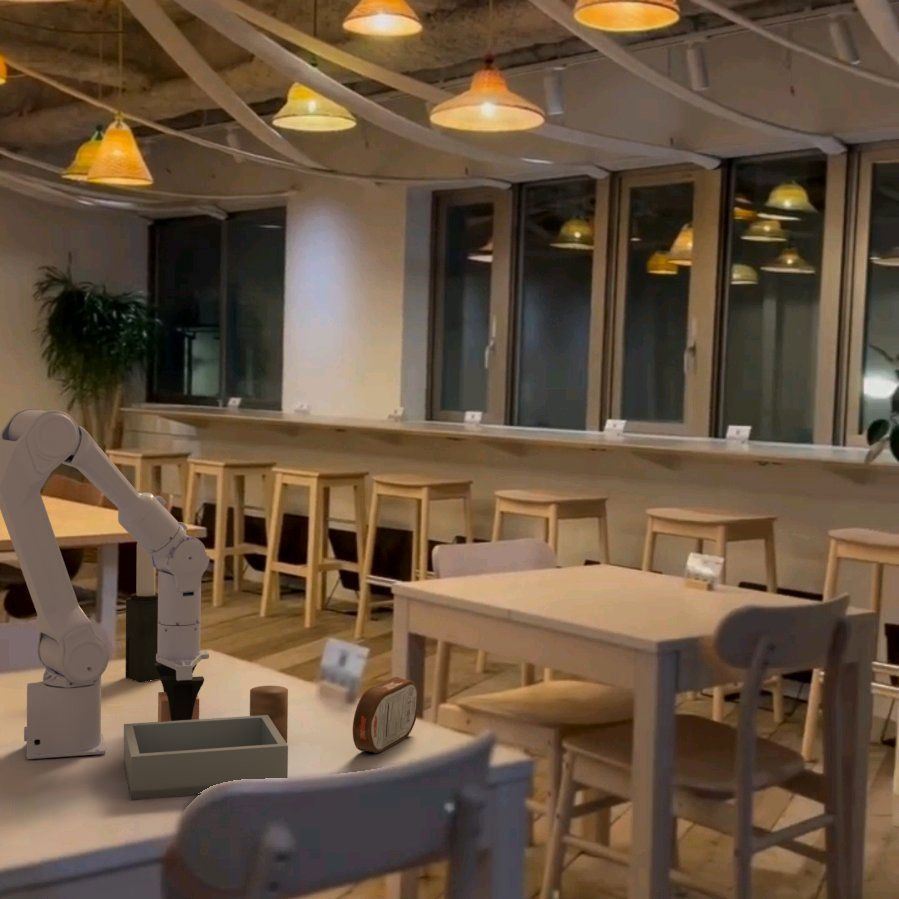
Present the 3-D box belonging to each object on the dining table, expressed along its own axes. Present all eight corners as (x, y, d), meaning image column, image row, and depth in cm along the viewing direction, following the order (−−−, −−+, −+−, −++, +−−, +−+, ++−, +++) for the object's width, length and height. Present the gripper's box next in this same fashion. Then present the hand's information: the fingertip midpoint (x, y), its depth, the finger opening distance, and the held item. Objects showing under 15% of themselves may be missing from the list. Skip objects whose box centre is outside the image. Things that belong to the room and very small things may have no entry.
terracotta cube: (161, 738, 167) (161, 701, 167) (157, 728, 172) (158, 692, 171) (198, 735, 168) (199, 699, 168) (194, 725, 173) (195, 690, 173)
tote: (130, 800, 142) (131, 756, 142) (123, 763, 155) (123, 724, 155) (287, 787, 148) (288, 745, 147) (267, 753, 161) (267, 714, 161)
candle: (167, 677, 200) (169, 522, 199) (140, 683, 196) (141, 525, 195) (149, 672, 203) (150, 520, 202) (122, 677, 200) (123, 522, 198)
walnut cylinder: (252, 748, 163) (253, 695, 162) (246, 738, 168) (247, 686, 167) (290, 746, 164) (291, 693, 164) (283, 735, 169) (284, 684, 169)
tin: (401, 729, 173) (402, 669, 173) (421, 732, 172) (422, 672, 172) (349, 758, 160) (350, 693, 159) (371, 762, 158) (372, 696, 158)
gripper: (215, 631, 164) (214, 733, 164) (202, 611, 177) (201, 705, 178) (161, 633, 161) (160, 736, 162) (151, 613, 175) (151, 708, 176)
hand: (178, 720), depth 170 cm, fingers open, 7 cm apart
